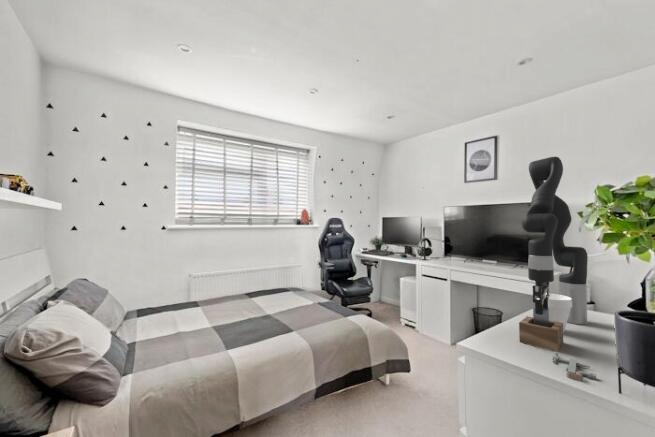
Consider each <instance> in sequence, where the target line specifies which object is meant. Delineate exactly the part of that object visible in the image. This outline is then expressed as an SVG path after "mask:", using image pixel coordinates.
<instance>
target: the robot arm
mask: <svg viewBox="0 0 655 437" xmlns="http://www.w3.org/2000/svg"><path fill="white" fill-rule="evenodd" d="M528 172H529V177H530V179H531V181H532V183H533V186H534V189H535V191H534V192H533V195H532V196H531V203H530V206H529V209H528V210H527V211H526V213H525V214H524V216H523V217H522V221H521V226H522V229H523V230H524V231H525V232H527V233H531V234H532V233H535V234H537V233H539V234H540V233H541V234H543V233H544V235H543V236H542V237H540V238H534V239H533V238H532V239H530V240H529V241H528V262H527V265H528V269H527V271H528V274H527V275H528V279H529V280H530V281H534V282H535V284H533V285H532V303H533V304H534V307H535V313H536V314H539V315H543V308H545V309H548V299H549V296H550V295H549V293H550V283H553V282H554V280H555V274H554V273H555V271H554V270H555V269H554V267H555V266H554V261H555V264H557V265H558V266H561V267H565V268H566V267H567V268H573V269H572V271H571V272H569V273H563V274H560V275H559V276H558V279H559V285H558V287H559V295H563V296H567V297H570V298H572V307H571V309H570V313H569V316H568V320H567V323H569V324H573V325H574V324H575V325H587V324H588V297H587V295H588V294H587V279H588V259H589V258H588V257H589V256H588V253H587V250H586V248H584V247H583V246H582V247H581V246H567V245H565V243H564V237H565V234H566V233H567V231H568V229H569V227H570V225H571V223H572V215H571V214H572V213H571V211H570V207H569V205H568V203H567V202H566V201H564V200H563V199H562V198H561V197H559V196H558V195H557V194H556V192H557V190H558V187H559V185H560V182H561V179H562V177H563V174H564V166H563V162H562V159H561V158H560V157H558V156H549V157H545V158H541V159H537V160H533V161H531V162H530V163H529V165H528ZM537 298H540V300H537Z"/></svg>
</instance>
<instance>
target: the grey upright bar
mask: <svg viewBox="0 0 655 437" xmlns="http://www.w3.org/2000/svg"><path fill="white" fill-rule="evenodd" d="M532 314H533V315H532V316H533V324H535V325H540V326H545V327H550V326H549V309H545V308H543V315H539V314H536V313H535V306H534V307H532Z"/></svg>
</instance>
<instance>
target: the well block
mask: <svg viewBox="0 0 655 437" xmlns="http://www.w3.org/2000/svg"><path fill="white" fill-rule="evenodd" d="M518 324H519V325H518V330H519V332H518V333H519V335H518V336H519V337H518V338H519V343H521V344H525V345H531V346H534V347H537V348H542V349H546V350H550V351H554V352H556V353H558V352H559V350H560V349H561V347H562V346H563V344H564V333H563V323H559V322H554V321H549V326H550V327H545V326H540V325H535V324H533V317H532V316H528V315H526V316H525V317H524V318H523V319H522V320H521V321H519V322H518Z"/></svg>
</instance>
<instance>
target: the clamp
mask: <svg viewBox="0 0 655 437" xmlns="http://www.w3.org/2000/svg"><path fill="white" fill-rule="evenodd" d="M558 356H559V353H558V352H554V355H553V356H552V363H553V364H555V365H556V364H557V363H558V362H562V363H566V364H568V367H566V369H565V370H566V377H567V378H568V379H570V380H575V381H578V382H583V377H586V378H587V379H592V380H595V381H596V380H597V374H596V373H592V372H589V371H587V372H585V371H582V370H578V369H577V366H578V367H582V368H588V369H590V368H591V366H590V365H586V364H584V363H581V362H578V360H577V359H575V358H571V357H570V358H569V359H568V360H567V359H564V358H560V357H558Z"/></svg>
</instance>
